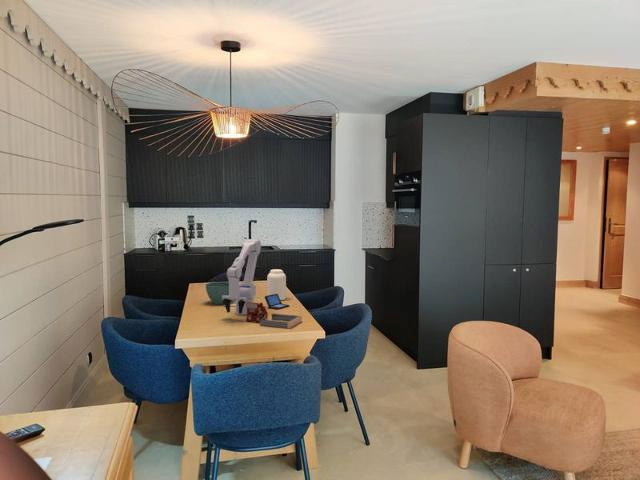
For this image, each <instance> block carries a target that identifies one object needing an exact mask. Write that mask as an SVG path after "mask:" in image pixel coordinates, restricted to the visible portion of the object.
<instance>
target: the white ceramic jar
mask: <svg viewBox="0 0 640 480" xmlns="http://www.w3.org/2000/svg"><path fill="white" fill-rule="evenodd" d="M266 279H267V282H266V286H267V288H266V289H267V290H266V291H267V293H266V294H267V295H266V296H268V295H273V294H278V296H279V298H280V301H281V302H282V301H285V300H286V298H287V296H286V295H287V291H286V290H287V276H286V273H284V270H282V269H277V268H274V269H270V271H269V273H268V274H267V277H266Z"/></svg>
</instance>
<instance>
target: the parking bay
mask: <svg viewBox="0 0 640 480" xmlns="http://www.w3.org/2000/svg"><path fill="white" fill-rule="evenodd" d="M301 322H303V316H302V315H296V314H295V315H294V314H285V313H283V314H282V313H271V319H266V320H264V319H261V320H260V323H259V326H263V327H271V328H281V329H282V328H283V329H292V328H293V327H295V326H298V325H299V324H300V323H301Z"/></svg>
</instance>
